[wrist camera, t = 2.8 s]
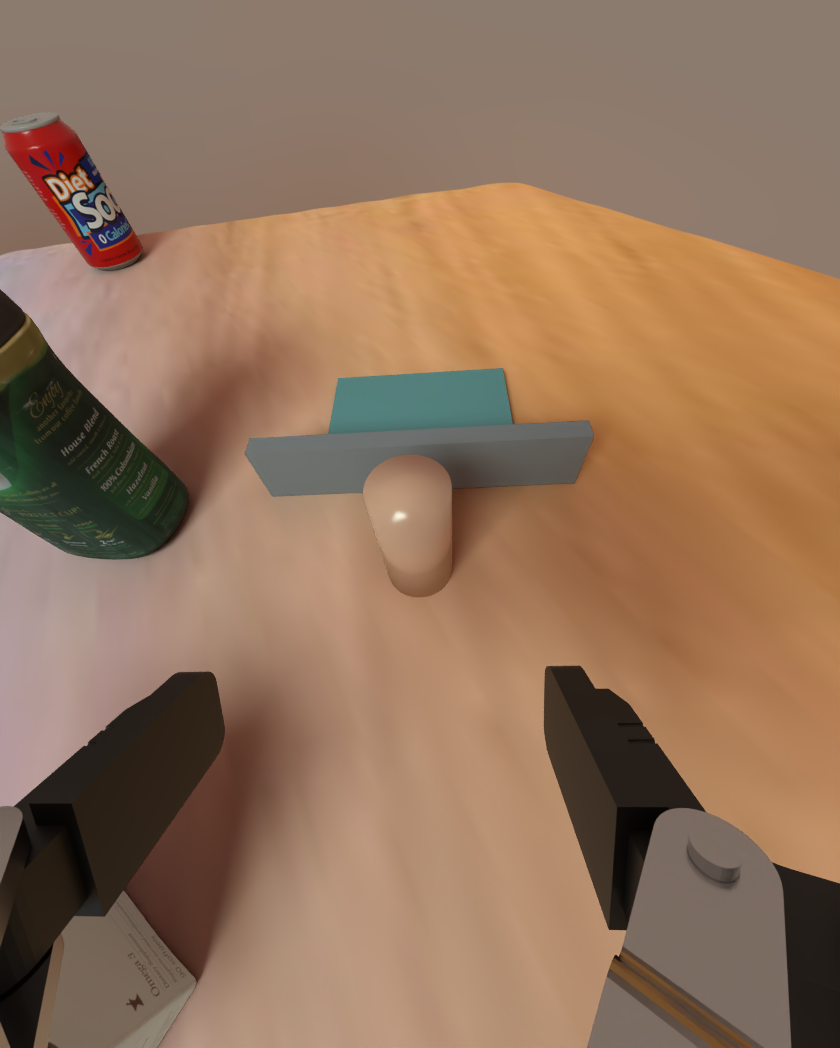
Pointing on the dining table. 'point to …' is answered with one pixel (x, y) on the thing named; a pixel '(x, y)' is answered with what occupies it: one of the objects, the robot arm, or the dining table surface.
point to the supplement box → (116, 983)
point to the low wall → (460, 451)
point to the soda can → (72, 189)
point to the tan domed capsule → (412, 522)
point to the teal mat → (420, 401)
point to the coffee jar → (74, 457)
